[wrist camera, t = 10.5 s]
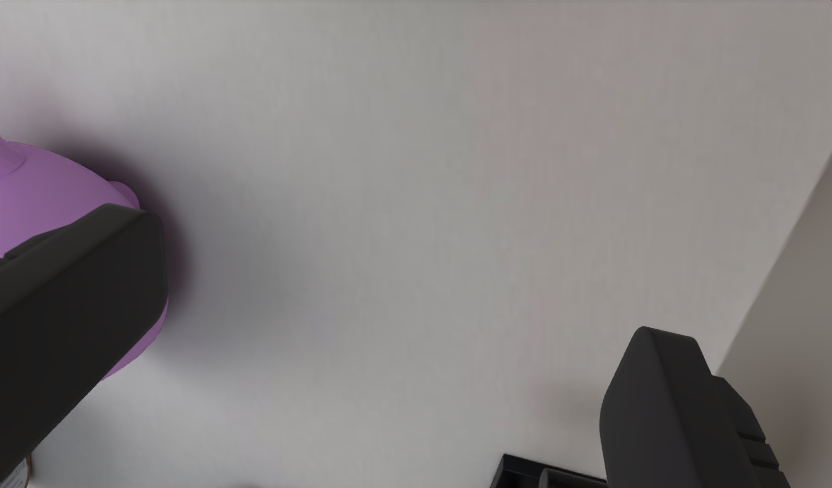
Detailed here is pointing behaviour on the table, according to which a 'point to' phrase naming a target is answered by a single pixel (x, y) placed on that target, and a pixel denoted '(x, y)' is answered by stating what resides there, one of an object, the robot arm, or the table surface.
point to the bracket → (523, 473)
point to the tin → (18, 475)
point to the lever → (566, 480)
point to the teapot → (55, 204)
